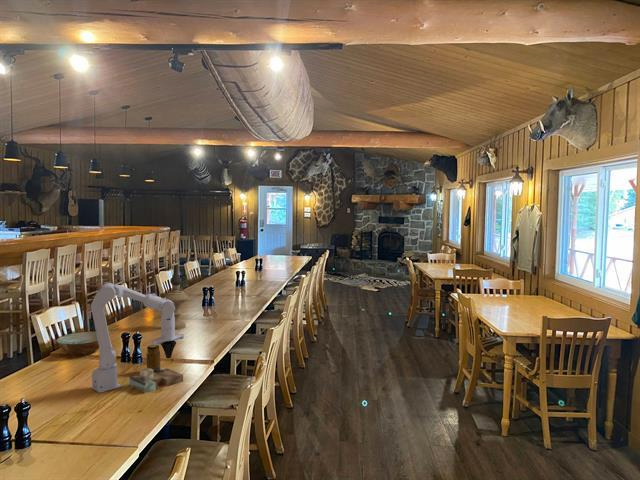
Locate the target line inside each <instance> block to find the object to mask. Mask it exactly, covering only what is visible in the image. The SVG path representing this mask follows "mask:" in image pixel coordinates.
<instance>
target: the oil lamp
mask: <svg viewBox="0 0 640 480" xmlns="http://www.w3.org/2000/svg"><path fill="white" fill-rule="evenodd" d="M178 266H179V265H177V264H175V265H173V273H172V276H171V279H170V280H169V281H170V284H171V286H172V290H171V291H169V292H168V293H167V294H166V295H165V296H164V297H163V298H166V299H169V300H171V301H172V302H173V303H174V305H175V311H174V317H175V330H176V331H179V330H184V329H185V328H186V323H185V321H183V320H182V319H181V315H182V311H181V310H180V306H181V305H182V304H184V303H186V302H187V301H188V299H189V296H188V295H187V294H186V293H185V292H184V291H183V288H180V284H181V283H182V278H181V277H180V275H179V269H178Z"/></svg>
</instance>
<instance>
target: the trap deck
mask: <svg viewBox="0 0 640 480" xmlns="http://www.w3.org/2000/svg"><path fill="white" fill-rule="evenodd" d="M165 368H166V369H163V370H161V373H154V372H153V375H154V379H152V380H149V381H142V380H140V375H138V376H137V375H136V376H133V375H129V376H128V377H129V378H128V379H129V381H128V382H129V385H128V386H130V387H131V388H133V389H136V390H138V391H140V392H142V393H143V394H146V393H150V392H153V391H157V390H160V389H163V388H165V387H169V386H173V385H175V384H179V383H182V382H184V374H182V373H179V372H177V371H175V370H173V369H171V368H168V367H165Z"/></svg>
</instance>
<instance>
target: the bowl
mask: <svg viewBox="0 0 640 480" xmlns="http://www.w3.org/2000/svg"><path fill="white" fill-rule="evenodd" d="M55 342H56V344H57V345H58V346H59V347H60V348H61V349H62V350H63V351H64V352H66V353H68V354H70V355H72V356H73V355H74V356H85V354H87V355H91V354H93V353H95V352H96V351H99V344H98V339H97V334H96V330H95V331H81V332H74V333H73V332H72V333H70V334H68V333H67V334H65V335H62V336H60V337H58V338H56V339H55Z"/></svg>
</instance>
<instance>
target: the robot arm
mask: <svg viewBox="0 0 640 480" xmlns="http://www.w3.org/2000/svg"><path fill="white" fill-rule="evenodd" d="M115 297H116V299H119V298H122V297H125V298H127V299H131V300H134V301H137V302H141V303H142V304H143V306H144V307H146V308H149V309H152V310H155V311H157V312H160V311H161V317H160V325H161V327H160V329H161V331H160V332H161V337H158V338H155V339H152V340H151V345H159V344H160V346H161V347H162V349H163V351H164V354H165V358H166V359H171V358H172V355H173V353H174V349H175V347H176V345H177V341H178V340H184V339H185V335H184V333H178V334H176V331H175V317H174V311H175V305H174V303H173V302H172V301H171V300H169V299H166V298H164V297H160V296H158V295H157V294H156V293H148V294H147V293H146V294H143V293H141V292H138V291H136V290H135V289H134V290H133V289H131V288H130V287H129V288H128V287H126V286H123V285H120V284H116V283H115V284H114V283H113V282H105V283H103V284H102V285H101V286H100V287H99V288H98V290H97V291H96V294H95V296H94V298H93V300H92V303H91V304H90V309H91V313H92V318H93V324H94V330H95V332H96V334H97V339H98V344H99V349H98V351H99V359H98V363H99V364H98V367H97V368H96V369H94V370H92V372H91V384H92V385H91V389H93V390H94V391H96V392H97V393H101V394H102V393H104V392H108V391H111V390H114V389H118V388H121V387H122V384H119V382H118V364H117V363H116V362H117V361H116V357H117V353H116V351H115V350H114V348H113V345H112V342H111V338H110V332H109V328H108V323H107V319H106V313H105V309H104V307H106V306H107V304H108V303H109V302H111V301H112V300H114V299H115Z"/></svg>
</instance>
